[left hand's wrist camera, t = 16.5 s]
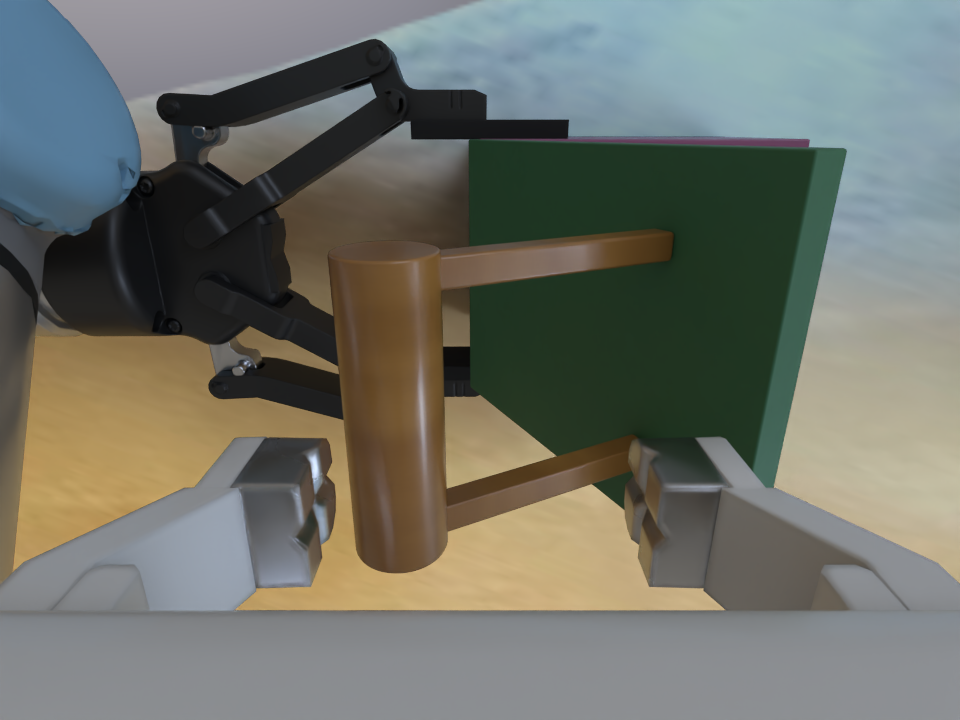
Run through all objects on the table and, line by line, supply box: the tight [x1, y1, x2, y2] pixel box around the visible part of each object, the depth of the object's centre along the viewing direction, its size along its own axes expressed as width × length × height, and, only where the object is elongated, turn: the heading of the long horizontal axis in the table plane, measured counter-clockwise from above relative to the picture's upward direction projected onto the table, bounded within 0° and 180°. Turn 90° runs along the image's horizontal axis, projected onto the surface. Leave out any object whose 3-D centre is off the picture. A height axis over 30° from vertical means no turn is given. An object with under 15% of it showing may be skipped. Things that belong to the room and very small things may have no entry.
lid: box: [328, 139, 847, 573], centre depth 16 cm, size 14×10×9 cm
